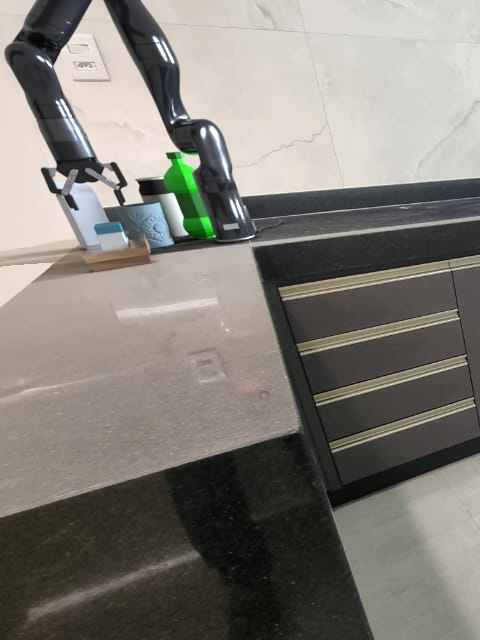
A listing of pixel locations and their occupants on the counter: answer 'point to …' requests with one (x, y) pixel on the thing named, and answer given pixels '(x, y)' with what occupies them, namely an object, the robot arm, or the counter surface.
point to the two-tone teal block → (111, 236)
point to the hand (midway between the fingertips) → (100, 207)
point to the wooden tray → (119, 255)
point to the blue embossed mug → (146, 222)
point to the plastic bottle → (187, 197)
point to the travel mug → (163, 202)
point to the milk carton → (83, 212)
